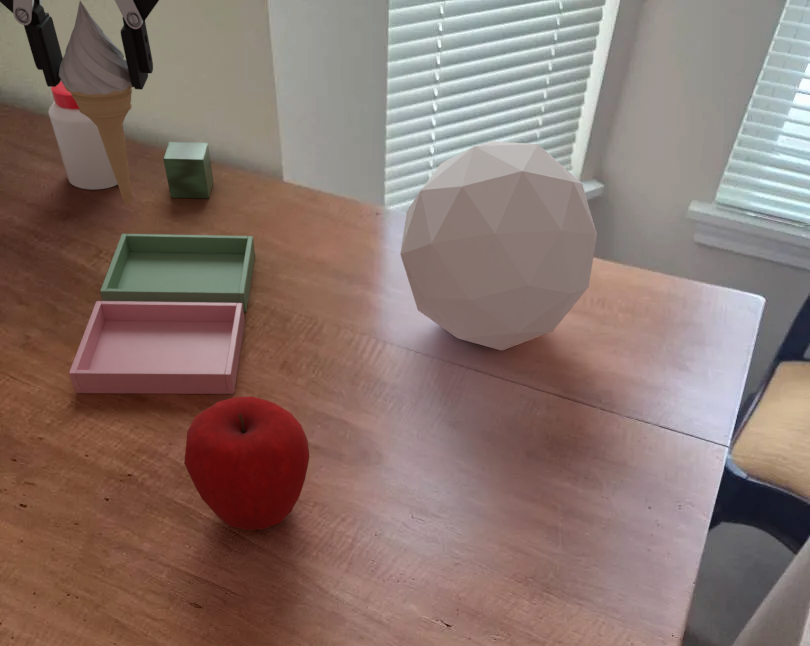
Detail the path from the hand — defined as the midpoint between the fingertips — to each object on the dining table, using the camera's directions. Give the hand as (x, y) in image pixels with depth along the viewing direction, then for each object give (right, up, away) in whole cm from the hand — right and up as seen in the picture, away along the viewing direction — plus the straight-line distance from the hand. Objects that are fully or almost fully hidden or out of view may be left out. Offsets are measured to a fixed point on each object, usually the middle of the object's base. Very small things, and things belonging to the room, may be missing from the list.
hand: (98, 79), depth 58 cm
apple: (+11, -33, +7) cm, 36 cm away
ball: (+33, -12, +25) cm, 43 cm away
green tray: (-2, -6, +28) cm, 29 cm away
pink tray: (-1, -17, +19) cm, 26 cm away
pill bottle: (-18, +13, +44) cm, 49 cm away
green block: (-5, +11, +43) cm, 44 cm away
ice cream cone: (0, -6, +8) cm, 10 cm away
